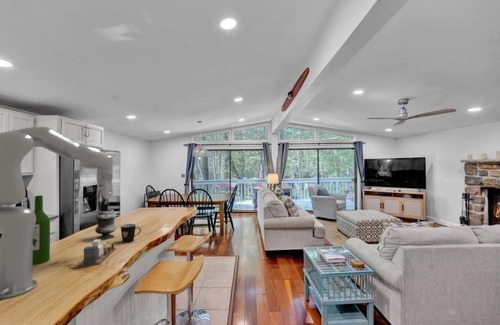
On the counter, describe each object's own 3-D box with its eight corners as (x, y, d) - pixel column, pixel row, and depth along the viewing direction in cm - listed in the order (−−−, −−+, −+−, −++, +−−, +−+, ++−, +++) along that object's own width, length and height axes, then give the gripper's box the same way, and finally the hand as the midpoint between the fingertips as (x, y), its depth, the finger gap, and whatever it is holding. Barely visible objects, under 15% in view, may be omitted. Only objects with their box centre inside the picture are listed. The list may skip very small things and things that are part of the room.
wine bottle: (21, 266, 116) (22, 197, 116) (32, 259, 124) (33, 195, 125) (43, 264, 118) (44, 196, 118) (53, 257, 127) (53, 194, 127)
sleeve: (99, 256, 123) (99, 241, 123) (89, 257, 122) (89, 242, 122) (103, 253, 127) (103, 238, 128) (94, 253, 127) (94, 239, 127)
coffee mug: (117, 242, 152) (117, 226, 152) (129, 238, 160) (129, 223, 160) (129, 245, 147) (129, 228, 147) (141, 241, 154) (142, 225, 154)
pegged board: (99, 264, 118) (99, 247, 118) (78, 265, 116) (79, 249, 116) (116, 248, 140) (116, 234, 140) (99, 249, 138) (99, 235, 138)
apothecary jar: (107, 240, 155) (107, 212, 155) (90, 239, 157) (90, 211, 157) (120, 235, 167) (120, 208, 167) (104, 234, 169) (104, 208, 169)
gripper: (106, 178, 128) (106, 213, 127) (116, 177, 142) (116, 208, 142) (91, 178, 126) (90, 214, 126) (102, 177, 141) (102, 209, 141)
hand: (104, 211), depth 134 cm, fingers closed
